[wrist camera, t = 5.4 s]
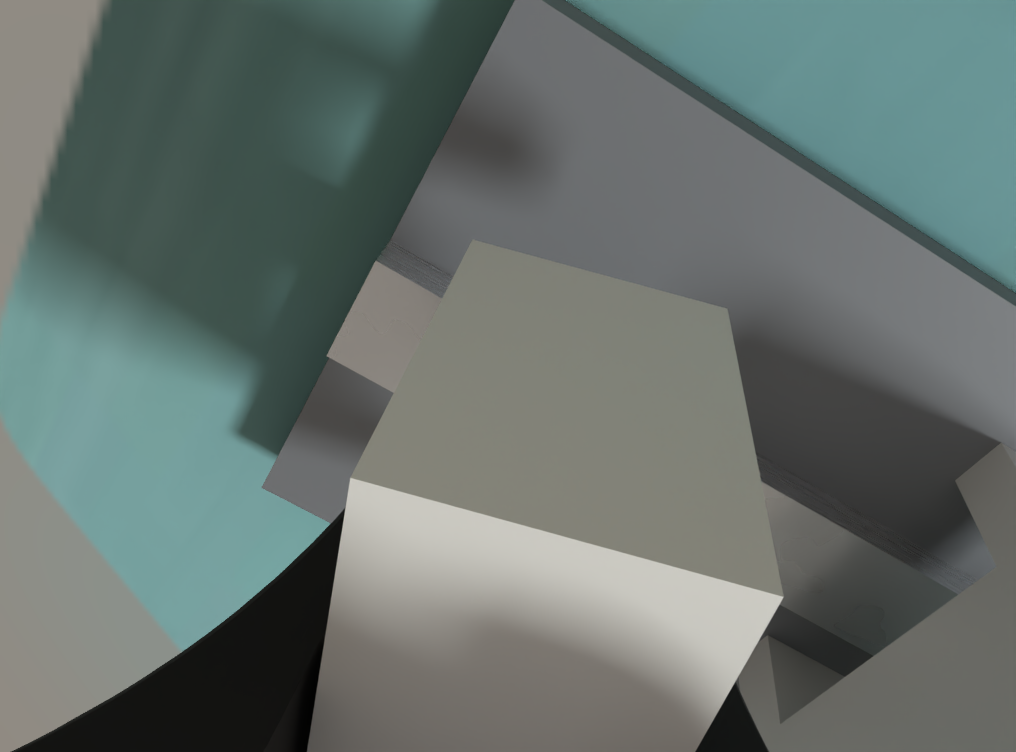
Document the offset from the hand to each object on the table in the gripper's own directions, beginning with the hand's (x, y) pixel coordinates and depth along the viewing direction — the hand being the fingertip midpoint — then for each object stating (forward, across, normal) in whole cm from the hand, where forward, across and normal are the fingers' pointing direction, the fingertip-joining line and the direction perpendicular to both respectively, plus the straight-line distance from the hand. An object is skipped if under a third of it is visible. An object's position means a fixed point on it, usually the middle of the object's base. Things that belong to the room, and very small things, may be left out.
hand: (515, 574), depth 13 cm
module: (+2, 0, 0) cm, 2 cm away
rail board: (+6, -4, +1) cm, 8 cm away
